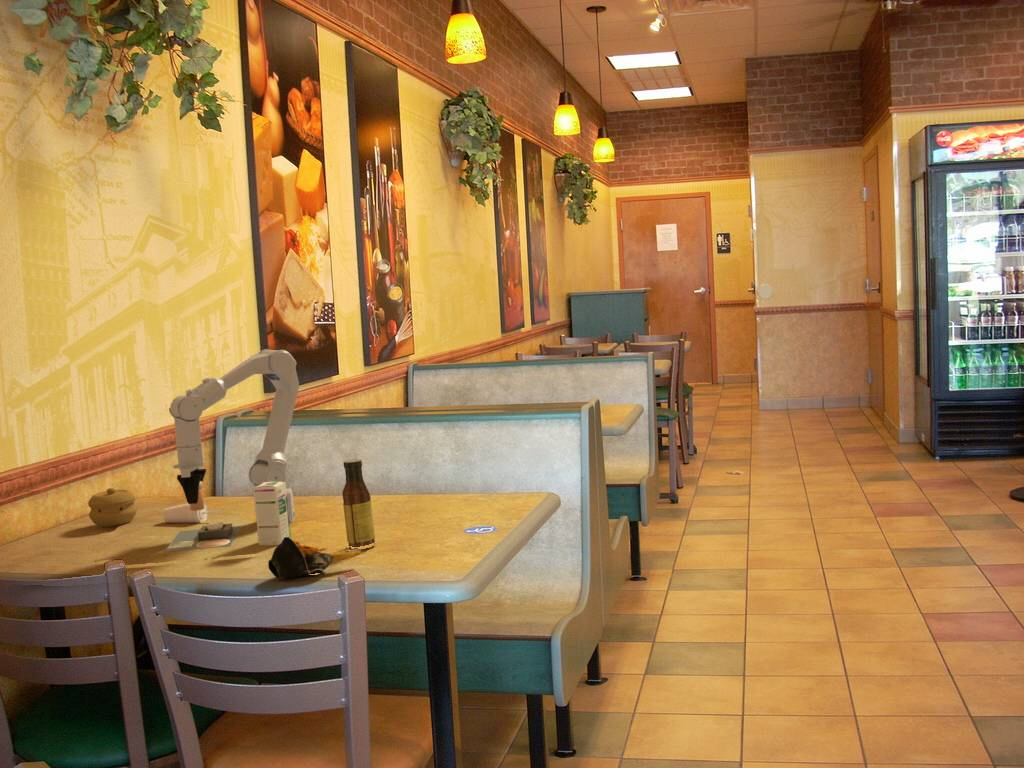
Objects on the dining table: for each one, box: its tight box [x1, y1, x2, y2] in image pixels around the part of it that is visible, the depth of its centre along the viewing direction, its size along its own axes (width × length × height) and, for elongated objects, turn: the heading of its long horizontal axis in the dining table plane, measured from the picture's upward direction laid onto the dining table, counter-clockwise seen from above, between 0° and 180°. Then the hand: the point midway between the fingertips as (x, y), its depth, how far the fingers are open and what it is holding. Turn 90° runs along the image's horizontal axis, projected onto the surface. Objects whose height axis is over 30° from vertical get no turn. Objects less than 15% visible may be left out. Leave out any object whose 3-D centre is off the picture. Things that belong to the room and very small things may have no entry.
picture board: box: [163, 525, 243, 553], centre depth 254 cm, size 15×20×1 cm
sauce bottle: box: [341, 458, 376, 547], centre depth 238 cm, size 6×6×20 cm
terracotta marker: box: [190, 481, 205, 511], centre depth 255 cm, size 4×4×6 cm
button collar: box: [198, 523, 234, 541], centre depth 255 cm, size 7×7×2 cm
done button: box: [206, 521, 224, 531], centre depth 255 cm, size 4×4×2 cm
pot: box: [87, 487, 138, 528], centre depth 277 cm, size 12×12×10 cm
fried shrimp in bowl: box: [267, 537, 362, 579], centre depth 220 cm, size 9×11×18 cm
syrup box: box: [252, 481, 292, 546], centre depth 245 cm, size 6×6×14 cm
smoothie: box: [163, 501, 219, 524], centre depth 273 cm, size 6×6×14 cm
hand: (194, 501), depth 255 cm, fingers closed on terracotta marker, 3 cm apart
